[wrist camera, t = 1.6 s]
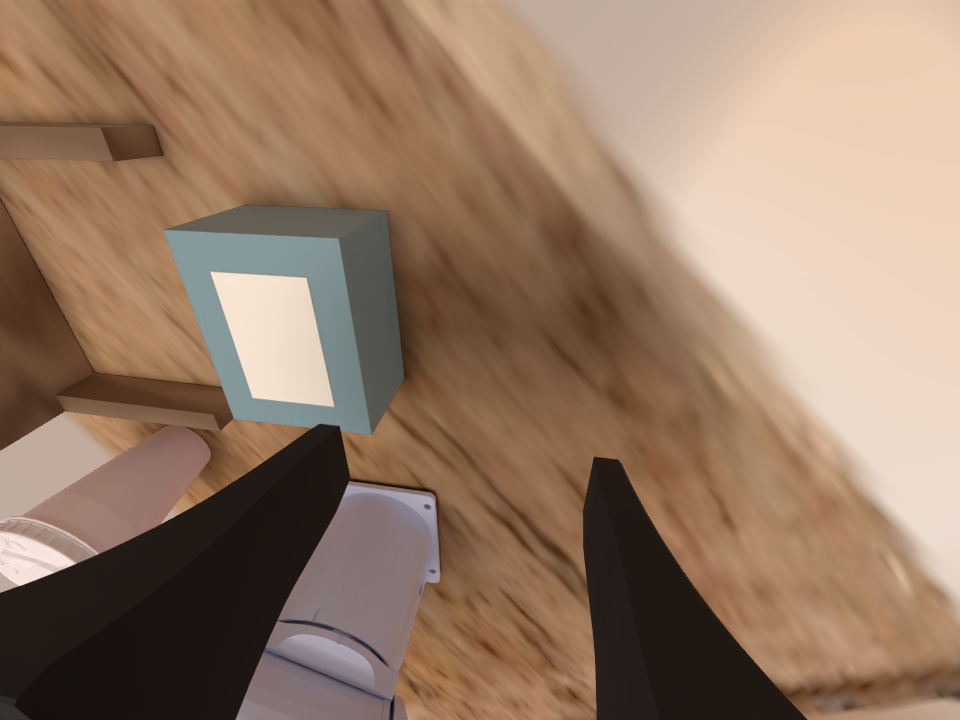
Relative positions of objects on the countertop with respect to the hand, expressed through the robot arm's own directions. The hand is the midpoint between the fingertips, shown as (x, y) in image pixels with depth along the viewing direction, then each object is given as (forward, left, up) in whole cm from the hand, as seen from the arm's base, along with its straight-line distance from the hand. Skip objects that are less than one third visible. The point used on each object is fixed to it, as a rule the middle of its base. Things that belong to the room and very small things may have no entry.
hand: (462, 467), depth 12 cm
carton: (0, +9, -11) cm, 14 cm away
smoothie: (-12, +22, -11) cm, 27 cm away
